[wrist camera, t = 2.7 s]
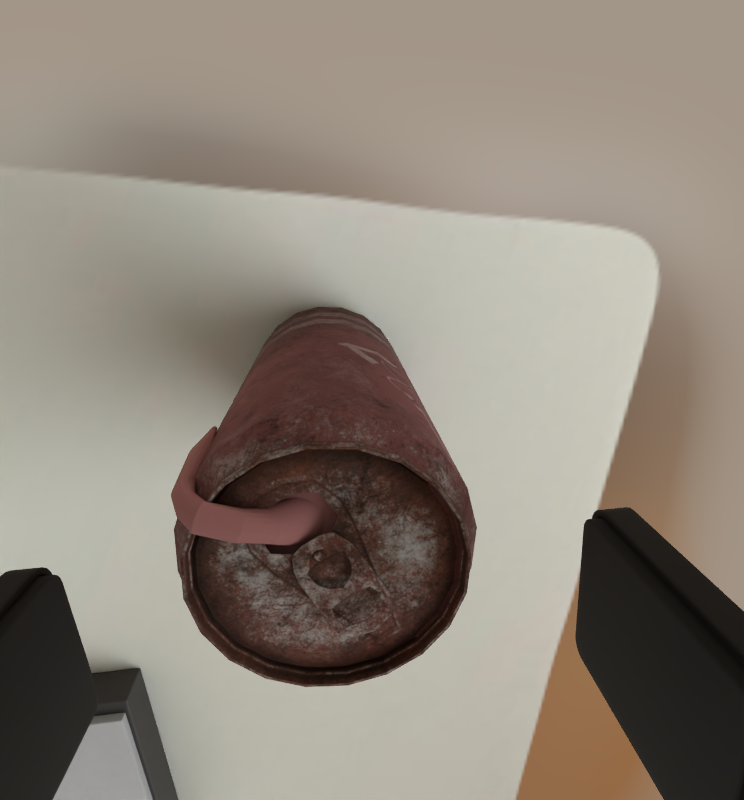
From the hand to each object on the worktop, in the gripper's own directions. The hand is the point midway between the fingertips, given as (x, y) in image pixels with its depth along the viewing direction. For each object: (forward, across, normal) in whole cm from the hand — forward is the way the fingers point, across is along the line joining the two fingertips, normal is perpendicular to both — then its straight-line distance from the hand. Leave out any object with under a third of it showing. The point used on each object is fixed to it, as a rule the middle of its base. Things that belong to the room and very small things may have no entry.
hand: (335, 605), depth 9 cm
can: (+15, 0, 0) cm, 15 cm away
